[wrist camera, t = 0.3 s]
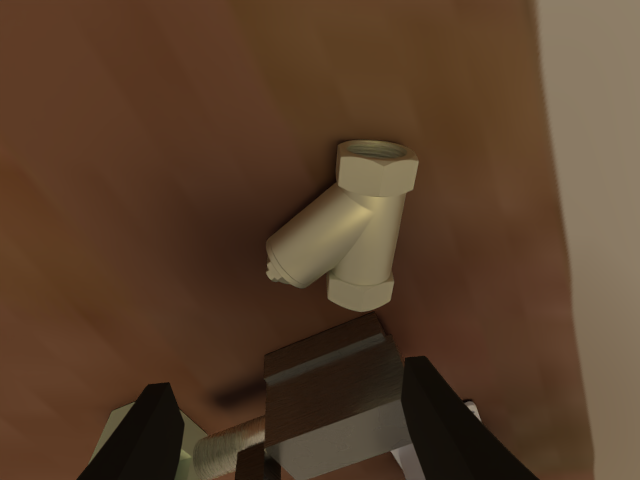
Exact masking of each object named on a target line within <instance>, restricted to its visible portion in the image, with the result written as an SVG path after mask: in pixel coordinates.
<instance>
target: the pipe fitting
mask: <svg viewBox="0 0 640 480" xmlns="http://www.w3.org/2000/svg"><path fill="white" fill-rule="evenodd" d="M418 163H419V161H418V158H417V156H416V154H415V152H414V151H413V150H411V149H410V148H408V147H406V146H403V145H400V144H396V143H392V142H387V141H379V140H351V141H346V142H343V143H341V144H339V145H338V149H337V160H336V181H337V182H336V183H335V184H333V185H332V186H331V187H330V188H329V189H327V190H326V191H325V192H324V193H323V194H321V195H320V196H319V197H318V198H316V199H315V200H314V201H313V202H312V203H310V204H309V205H308V206H307V207H306V208H304V209H303V210H302V211H301V212H300V213H298V214H297V215H296V216H295V217H294V218H292V219H291V220H290V221H289V222H288V223H286V224H285V225H284V226H283V227H281V228H280V229H279V230H278V231H277V232H275V233H274V234H273V235H272V236H271V237H269V238H268V239H267V241H266V251H267V254H268V258H267V266H268V267H267V269H266V274H267V276H268V277H269V279H270V280H272V281H274V282H278V281H279V282H281V283H285V284H291V285H293V286H295V287H297V288H306V287H308V286H309V285H310V284H312V283H313V282H314V281H316V280H317V279H318V278H320V277H321V276H322V275H324V274H325V273H327V275H326V284H327V297H328V299H329V300H331V301H332V302H334V303H336V304H338V305H340V306H342V307H344V308H347V309H350V310H353V311H358V312H365V311H370V310H373V309H376V308H378V307H380V306H382V305H384V304H386V303H388V302H389V301H390V300H391V295H392V290H393V285H394V278H393V273H392V270H391V269H392V264H393V259H394V254H395V249H396V243H397V238H398V233H399V228H400V223H401V218H402V213H403V207H404V202H405V197H406V193H407V192H409V191H411V190H413V187H414V182H415V177H416V172H417V168H418Z"/></svg>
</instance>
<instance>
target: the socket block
mask: <svg viewBox="0 0 640 480" xmlns="http://www.w3.org/2000/svg"><path fill="white" fill-rule="evenodd" d="M134 403H135V402H133V403H131V404H128V405H126V406H123V407H121V408H118V409H116V410H113V411H112V412H111V414H110V417H109V419H108V421H107V423H106V426H105V428H104V430H103V432H102V435H101V437H100V439H99V441H98V444H97V446H96V448H95V450H94V453H93V455H92V457H91V459H90V462H91V461H92V459H93V458H94V457H95V456H96V454H97V453H98V452H99V450H100V449H101V448H102V446H103V445H104V444H105V442H106V441H107V440H108V438H109V437H110V436H111V435H112V433H113V432H114V430H115V429H116V428H117V426H118V425H119V424H120V422H121V421H122V420H123V418H124V417H125V415H126V414H127V413H128V411H129V410H130V408H131V407H132V406H133V404H134ZM179 410H180V409H179ZM180 412H181V415H182V418H183V420H184V423H185V427H184V434H183V441H182V447H181V453H180V459H179V464H178V468H177V472H176V475H175V479H174V480H200V478H199V477H198V476H197V474H196V472H195V469H194V465H193V450H194V447H195V444H196V443H197V441H198V440H199V439H202V438H204V437H207V436H208V435H207V434H206V433H205V432H204V431H203V430H202V429H201V428H200V427H198V426H197V425H196V424H195V423H194V422H193V421H192V420H191V419H190V418H188V417H187V416H186V415H185V414H184V413H183V412H182V411H181V410H180ZM90 462H89V463H90ZM88 465H89V464H88Z"/></svg>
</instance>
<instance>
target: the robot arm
mask: <svg viewBox="0 0 640 480" xmlns="http://www.w3.org/2000/svg"><path fill="white" fill-rule="evenodd" d="M401 404H402V408H403V412H404V416H405V420H406V424H407V428H408V431H409V435H410V438H411V441H412V444H409V445H406V446H403V447H400V448H397V449H394V450H392V451H391V453H392V454H393V456H394V457H395V459H396V460H397V462H398V463H399V465H400V467H401V468H402V470H403V472H404V475H405V479H406V480H539V479H538V478H537V477H536V476H535V475H534V474H533V473H532V472H531V471H530V470H529V469H527V468H526V467H525V466H524V465H523V464H522V463H521V462H520V461H519V460H518V459H517V458H516V457H515V456H514V455H513V454H512V453H511V452H510V451H509V450H508V449H507V448H506V447H505V446H504V445H503V444H502V443H501V442H500V441H499V440H498V439H497V438H496V437H495V436H494V435H493V434H492V433H491V432H490V431H489V430H488V429H487V428H486V427H485V426H484V424H483V423H482V422H481V419H480V416H479V413H478V411H477V408H476V406H475V404H474V402H466V403H464V402H463V401H462V400H461V399H460V398H459V397H458V395H457V394H456V393H455V392H454V391H453V389H452V388H451V387H450V386H449V385H448V383H447V382H446V381H445V380H444V379H443V377H442V376H441V375H440V374H439V372H438V371H437V370H436V369H435V367H434V366H433V365H432V363H431V362H430V361H429V360H428V358H427V357H425V356H418V357H408V358H405V365H404V374H403V383H402V392H401ZM184 427H185V423H184V420H183V418H182V415H181V412H180V410H179V407H178V405H177V402H176V399H175V397H174V394H173V391H172V389H171V386H170V383H169V382H168V383H158V384H148V385H147V386H146V388H145V389H144V390H143V392H142V393H141V395H140V396H139V397H138V399H137V400H136V401H135V403H134V404H133V406H132V407H131V408H130V410H129V411H128V413H127V414H126V415H125V417H124V418H123V420H122V421H121V422H120V424H119V425H118V426H117V428H116V429H115V430H114V432H113V433H112V435H111V436H110V437H109V438H108V440H107V441H106V442H105V444H104V445H103V446H102V448H101V449H100V450H99V452H98V453H97V454H96V456H95V457H94V458H93V459H92V461H91V462H90V463H89V465H88V466H87V467H86V468H85V470H84V471H83V472H82V473H81V475H80V476H79V477H78V478H77V479H76V480H174V479H175V475H176V472H177V468H178V464H179V459H180V453H181V447H182V441H183V434H184Z"/></svg>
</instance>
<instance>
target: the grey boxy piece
mask: <svg viewBox="0 0 640 480" xmlns="http://www.w3.org/2000/svg"><path fill="white" fill-rule="evenodd" d="M404 365H405V362H404V360H403V357H402V355H401V353H400V351H399V349H398V347H397V345H396V343H395V341H394V339H393V337H392V335H391V334H390V335H387V336H386V334H385V332H384V330H383V328H382V326H381V324H380V322H379V320H378V318H377V316H376V314H375V312H372V313H370V314H367V315H365V316H362V317H360V318H357V319H355V320H352V321H350V322H347V323H345V324H342V325H340V326H337V327H335V328H332V329H330V330H327V331H325V332H322V333H320V334H317V335H315V336H312V337H310V338H307V339H305V340H302V341H300V342H297V343H295V344H292V345H290V346H287V347H285V348H282V349H280V350H277V351H275V352H272V353H270V354H267V355H265V361H264V380H265V381H266V382H267V387H266V413H265V439H264V449H265V450H266V451H267V452H268V453H269V454H270V455H271V456H272V457H273V458H274V459H275V460H276V461H277V462H278V463H279V464H280V465H281V466H282V467H283V468H284V469H285V470H286V471H287V472H288V473H289V474H290V475H291V476H292V477H293V478H294V479H295V480H307V479H310V478H313V477H316V476H319V475H322V474H325V473H328V472H331V471H333V470H336V469H339V468H342V467H345V466H348V465H351V464H354V463H357V462H360V461H362V460H365V459H368V458H371V457H374V456H377V455H380V454H383V453H386V452H389V451H392V450H394V449H397V448H400V447H403V446H406V445H409V444H412V441H411V438H410V435H409V431H408V428H407V424H406V420H405V416H404V412H403V408H402V404H401V392H402V383H403V374H404Z"/></svg>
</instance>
